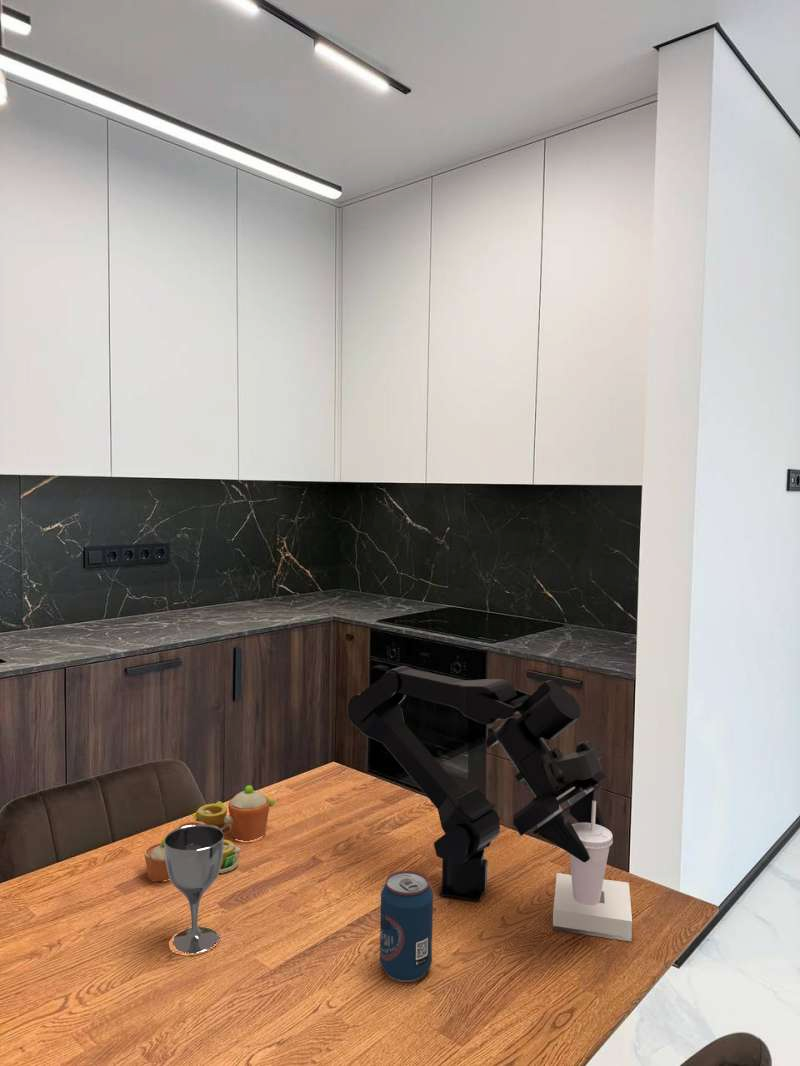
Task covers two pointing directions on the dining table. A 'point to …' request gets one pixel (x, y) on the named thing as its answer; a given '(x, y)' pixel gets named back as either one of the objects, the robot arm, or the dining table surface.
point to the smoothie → (590, 861)
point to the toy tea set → (245, 822)
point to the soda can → (406, 926)
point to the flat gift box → (594, 910)
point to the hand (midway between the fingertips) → (597, 852)
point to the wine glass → (194, 876)
